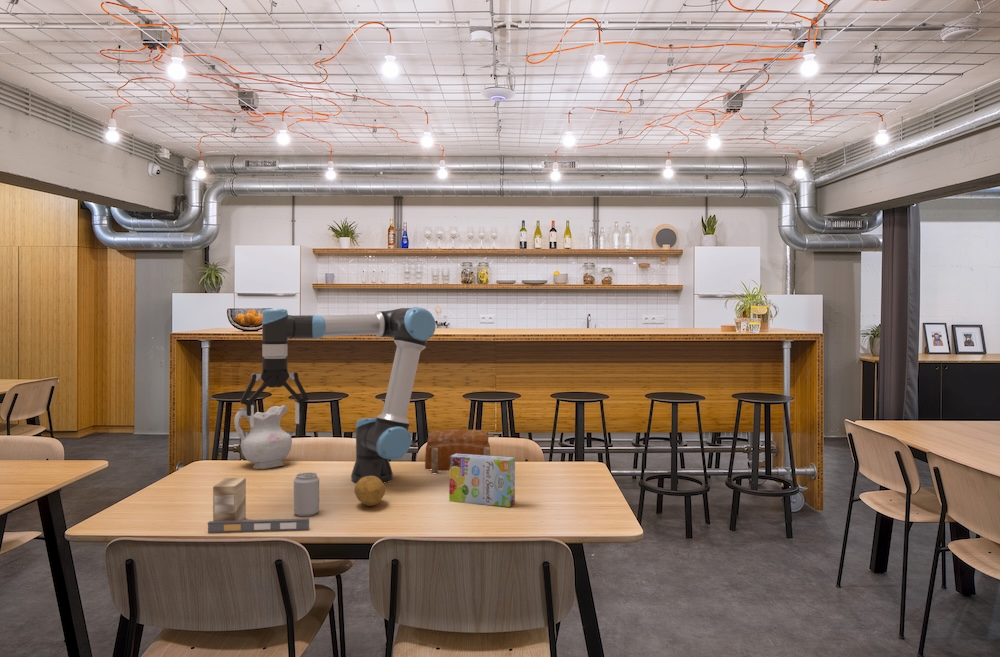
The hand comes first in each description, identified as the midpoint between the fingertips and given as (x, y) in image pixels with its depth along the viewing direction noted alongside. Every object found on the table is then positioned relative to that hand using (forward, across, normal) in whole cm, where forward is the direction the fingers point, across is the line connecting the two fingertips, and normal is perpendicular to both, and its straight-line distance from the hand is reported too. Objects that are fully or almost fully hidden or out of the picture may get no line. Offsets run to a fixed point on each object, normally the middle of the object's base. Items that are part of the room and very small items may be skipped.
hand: (275, 424), depth 201 cm
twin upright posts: (+26, -73, -24) cm, 81 cm away
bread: (+26, -73, -24) cm, 81 cm away
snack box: (+26, -60, +25) cm, 70 cm away
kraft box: (+26, +14, +13) cm, 32 cm away
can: (+26, -8, +13) cm, 30 cm away
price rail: (+26, +7, +23) cm, 35 cm away
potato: (+26, -27, +13) cm, 40 cm away
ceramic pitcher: (+26, -3, -58) cm, 64 cm away
